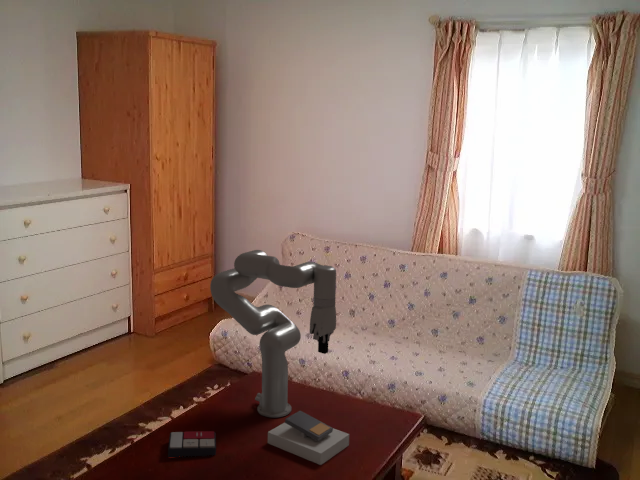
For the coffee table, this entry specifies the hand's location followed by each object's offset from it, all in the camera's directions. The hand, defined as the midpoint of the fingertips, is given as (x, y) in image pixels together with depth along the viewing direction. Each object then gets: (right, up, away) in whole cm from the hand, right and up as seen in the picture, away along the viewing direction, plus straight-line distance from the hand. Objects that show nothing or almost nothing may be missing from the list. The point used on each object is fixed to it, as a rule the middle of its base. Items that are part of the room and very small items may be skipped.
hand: (323, 352), depth 221 cm
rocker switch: (-5, -22, -10) cm, 25 cm away
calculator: (-43, -30, -14) cm, 54 cm away
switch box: (-5, -29, -9) cm, 31 cm away
